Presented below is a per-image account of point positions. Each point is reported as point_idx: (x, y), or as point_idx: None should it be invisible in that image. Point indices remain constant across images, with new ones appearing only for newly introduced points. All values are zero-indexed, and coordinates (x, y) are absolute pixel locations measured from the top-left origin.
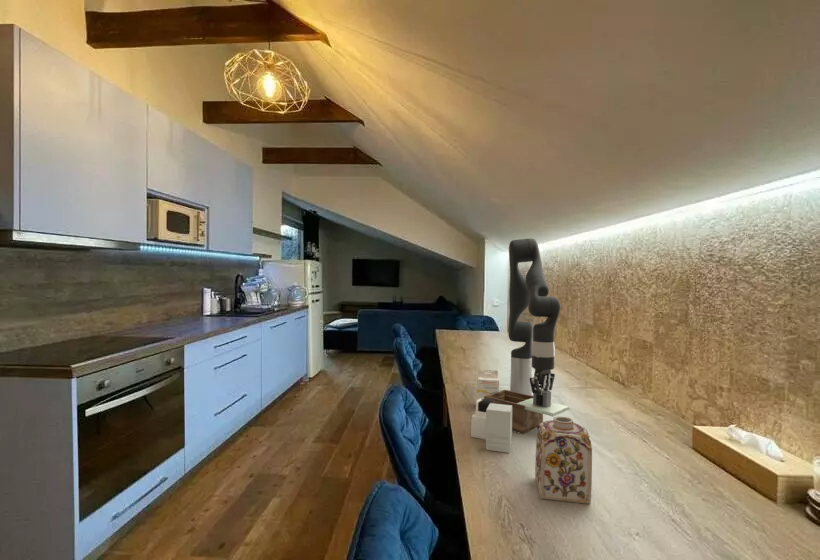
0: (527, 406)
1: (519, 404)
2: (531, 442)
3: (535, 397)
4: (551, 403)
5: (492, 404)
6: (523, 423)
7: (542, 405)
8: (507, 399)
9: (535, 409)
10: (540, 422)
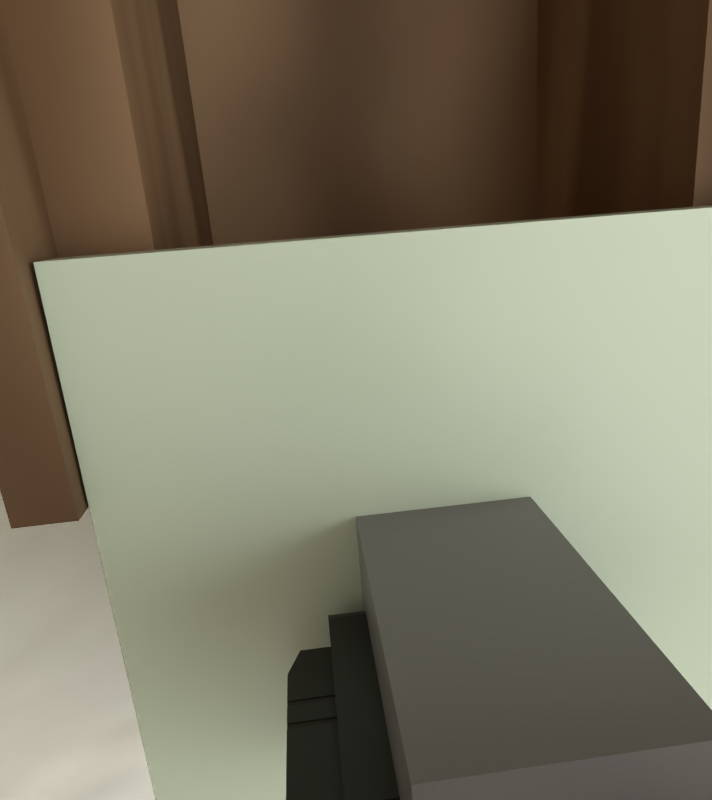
0: (132, 540)
1: (14, 413)
2: (41, 559)
3: (378, 671)
4: (687, 651)
5: None
6: None
7: None
8: None
9: (138, 700)
10: None
